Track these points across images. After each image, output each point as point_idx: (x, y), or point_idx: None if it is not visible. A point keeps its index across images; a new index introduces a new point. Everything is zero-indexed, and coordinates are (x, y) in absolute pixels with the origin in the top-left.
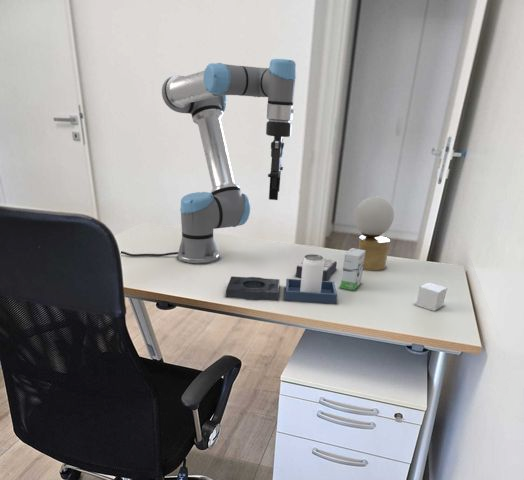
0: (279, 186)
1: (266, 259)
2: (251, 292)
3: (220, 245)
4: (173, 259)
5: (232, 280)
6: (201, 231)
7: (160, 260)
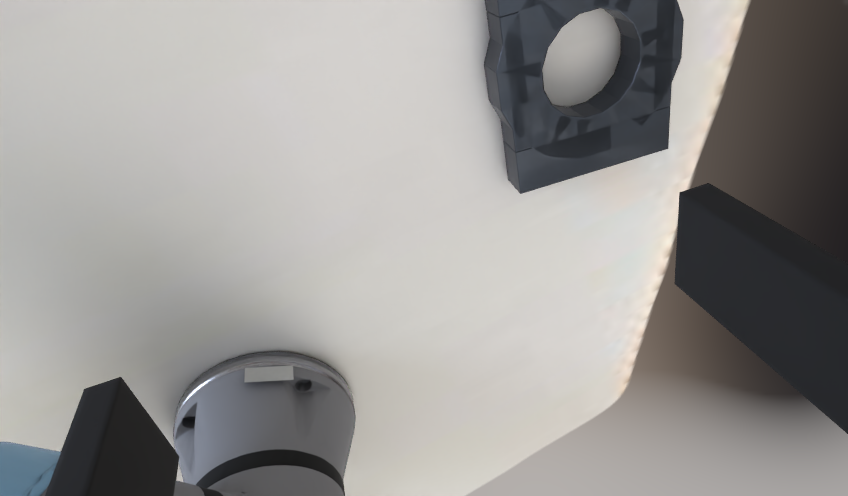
0: (103, 441)
1: (67, 170)
2: (680, 40)
3: None
4: None
5: (568, 168)
6: (328, 492)
7: (366, 477)
